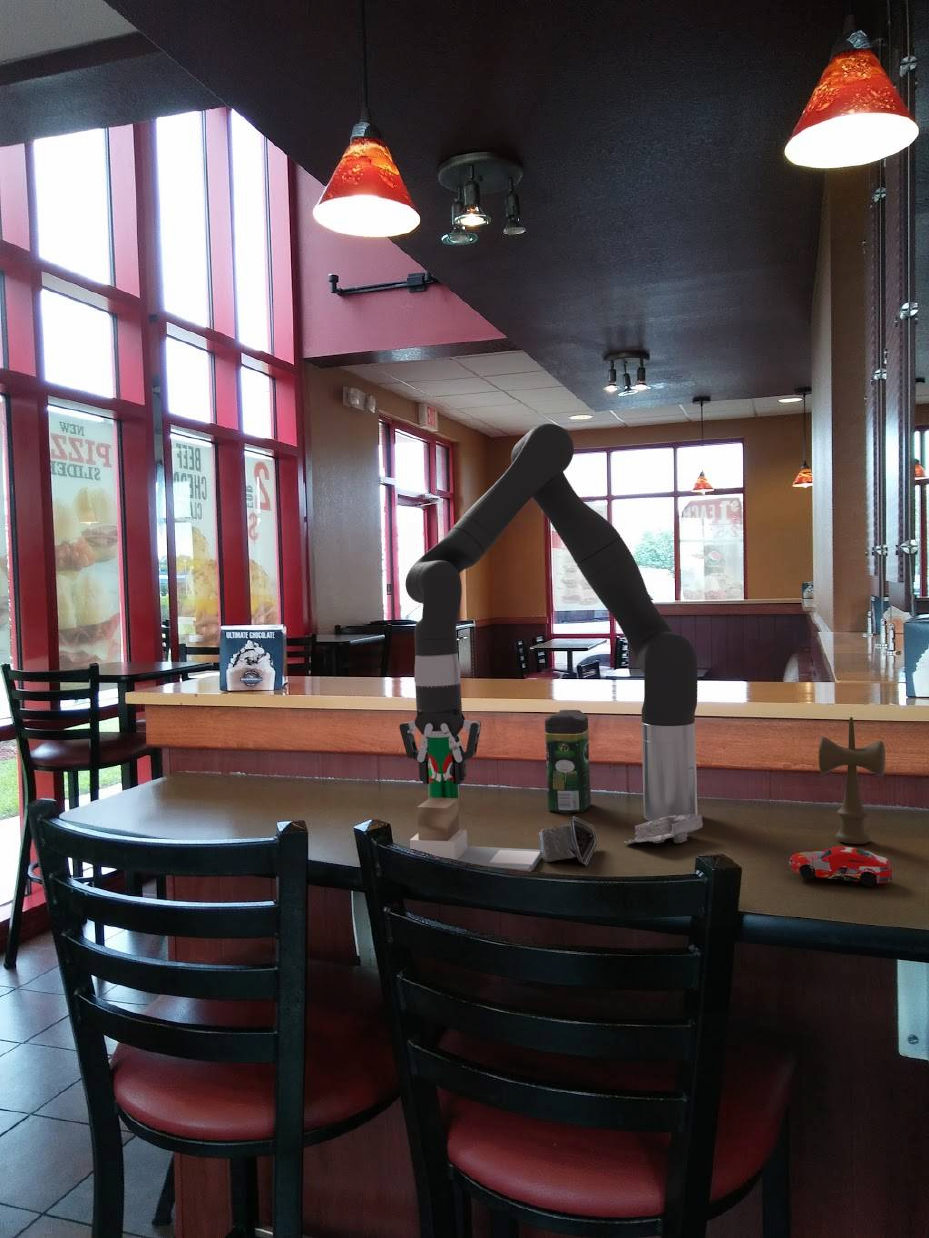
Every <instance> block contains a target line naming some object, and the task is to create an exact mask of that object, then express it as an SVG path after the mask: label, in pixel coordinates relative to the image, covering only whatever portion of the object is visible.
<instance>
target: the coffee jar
mask: <svg viewBox="0 0 929 1238" xmlns="http://www.w3.org/2000/svg"><path fill="white" fill-rule="evenodd" d="M589 736H590V734H589V717H588V716H587V715H586V714H585V713H583V712H582V711H581V710H580V709H560V710H558V711H557V712H556V713H553V714H551V715H550V716H548V717H547V718H545V719H544V737H545V739H544V741H545V755H546V760H545V761H546V800H547V801H546V804H547V809H548V810H549V811H551V812H557V813H558V814H572V813H583V812H585V811H586V810H588V808H589V807H590V806H591V804H592V801H591V800H592V795H591V794H592V793H591V775H590V773H591V771H590V770H591V769H590V749H589V748H590V746H589V745H590V744H589V741H590V740H589V739H590V738H589Z"/></svg>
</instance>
